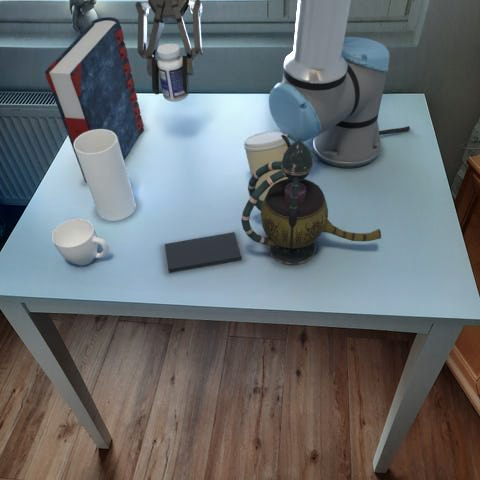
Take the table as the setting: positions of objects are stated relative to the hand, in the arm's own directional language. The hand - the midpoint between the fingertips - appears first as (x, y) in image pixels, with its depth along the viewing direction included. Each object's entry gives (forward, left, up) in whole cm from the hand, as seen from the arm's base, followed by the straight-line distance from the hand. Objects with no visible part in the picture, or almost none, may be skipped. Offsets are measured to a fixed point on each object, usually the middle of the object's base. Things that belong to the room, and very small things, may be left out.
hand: (170, 91), depth 99 cm
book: (+15, -6, -16) cm, 23 cm away
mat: (0, +33, -16) cm, 36 cm away
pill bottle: (-1, -4, -3) cm, 6 cm away
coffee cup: (-18, +19, -16) cm, 31 cm away
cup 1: (+16, +15, -16) cm, 27 cm away
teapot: (-21, +37, -16) cm, 45 cm away
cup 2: (+22, +29, -16) cm, 40 cm away
